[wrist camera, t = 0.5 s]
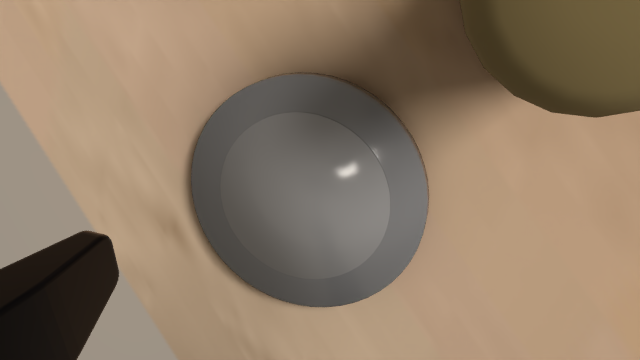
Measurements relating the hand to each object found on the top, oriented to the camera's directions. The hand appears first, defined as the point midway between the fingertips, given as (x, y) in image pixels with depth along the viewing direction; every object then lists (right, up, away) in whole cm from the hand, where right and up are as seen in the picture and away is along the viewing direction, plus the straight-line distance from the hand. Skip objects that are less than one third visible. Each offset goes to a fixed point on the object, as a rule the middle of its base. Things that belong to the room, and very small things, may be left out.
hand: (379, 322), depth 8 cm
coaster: (-1, +2, +16) cm, 16 cm away
